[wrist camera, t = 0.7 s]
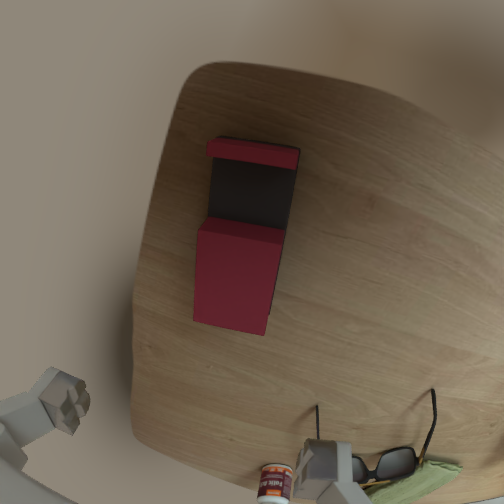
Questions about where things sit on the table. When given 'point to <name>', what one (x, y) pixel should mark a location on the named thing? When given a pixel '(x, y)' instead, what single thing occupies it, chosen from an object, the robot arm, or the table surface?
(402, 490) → the washcloth
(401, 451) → the sunglasses
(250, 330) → the red and black block
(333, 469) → the robot arm
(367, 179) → the table surface
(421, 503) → the table surface
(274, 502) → the pill bottle
